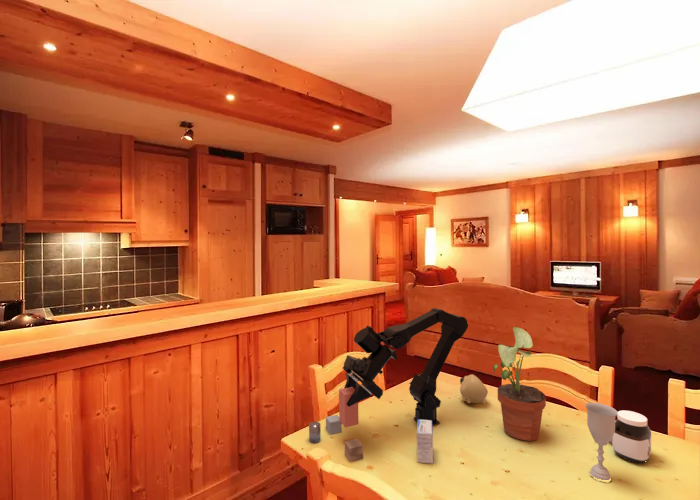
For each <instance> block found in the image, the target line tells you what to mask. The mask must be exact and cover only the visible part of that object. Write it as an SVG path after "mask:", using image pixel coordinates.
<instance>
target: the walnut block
mask: <svg viewBox="0 0 700 500" xmlns="http://www.w3.org/2000/svg"><path fill="white" fill-rule="evenodd" d="M344 456H345V457H346V458H347V460H348V461H349V462H350V463H354V462H356V461H360V460H364V445H363V444H362V442H361V441H360V440H359V439H358V438H354V439H350V440H345V441H344Z"/></svg>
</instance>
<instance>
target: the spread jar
mask: <svg viewBox="0 0 700 500" xmlns="http://www.w3.org/2000/svg"><path fill="white" fill-rule="evenodd" d="M617 412H618V414H617V415H616V417H617V419H615V433H614V435H613V437H612V439H611V440H610V441H609V443H612V450H613V451H614V453H615V454H616V455H618V456H619V457H620V456H621V457H620V458H621V459H623V458H625V459H627V460H626V461H628V460H630V461H629V462H631V461H633V462H632V463H635V462H639V463H638V464H643V463H642V462H645V461H647V460H648V461H649V459H650V456H651V451H652V431H651V428H650V427H649V425H648V418H647V417H646V416H645V415H643V414H641V413H638V412H635V411H632V410H624V409H623V410H619V411H617ZM625 459H624V460H625ZM648 461H647V462H648ZM645 463H646V462H645Z"/></svg>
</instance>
